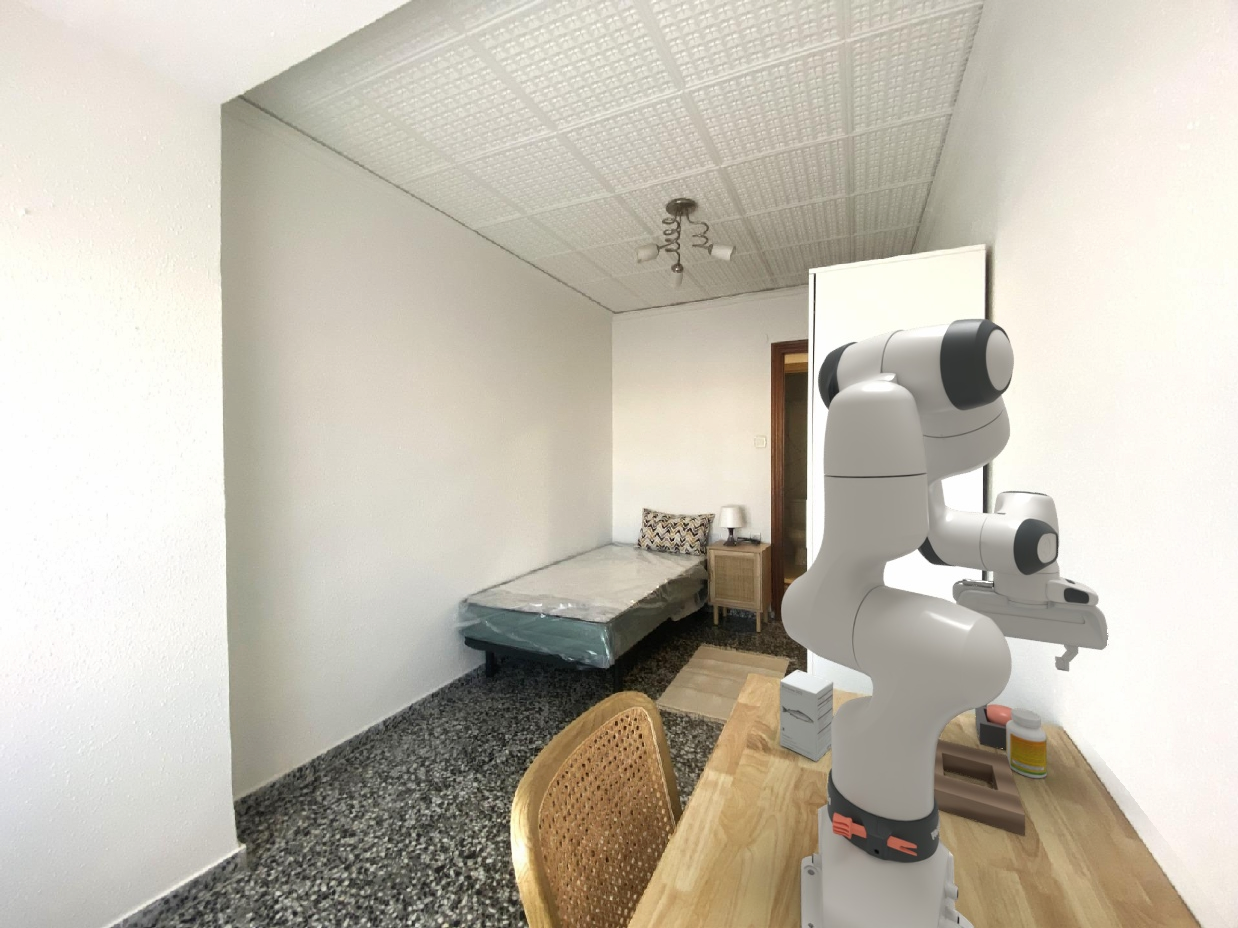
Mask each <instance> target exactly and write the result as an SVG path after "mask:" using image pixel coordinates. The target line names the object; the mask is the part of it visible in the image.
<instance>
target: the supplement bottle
mask: <svg viewBox="0 0 1238 928" xmlns="http://www.w3.org/2000/svg"><path fill="white" fill-rule="evenodd" d="M1011 719H1012V720H1010V721H1008V722H1007V724H1006V750H1005V753H1006V754H1005V755H1006V756H1007V758H1008V761H1009V764H1010V767H1011V770H1012V771H1014V772H1016V773H1017V774H1020V775H1022V776H1025V777H1028V778H1032V779H1043V778H1046V776H1047V774H1048V770H1047V769H1048V768H1047V767H1048V766H1047V765H1048V762H1047V760H1048V759H1047V756H1048V755H1047V734H1046V732H1045V730H1044V729H1043V728H1042V718H1041V716H1040V715H1039V714H1038V713H1037V712H1034V711H1032V710H1029V709H1027V708H1019V707H1014V708H1012V710H1011Z"/></svg>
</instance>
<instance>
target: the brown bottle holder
mask: <svg viewBox="0 0 1238 928" xmlns="http://www.w3.org/2000/svg"><path fill="white" fill-rule="evenodd" d="M944 772H948V773H953V774H956V775H960V776H963V777H968V778H972V779H975V780H979V781H982V782H986V783H990V784H992V787H993V788H991V787H987V786H984V785H980V784H976V783H972V782H969V781H966V780H965V781H964V780H961V779H958V778H955V777H951V776H947V775H944ZM934 796H935V798H936V800H937V803H938V811H942V812H947V813H950V814H952V815H956V816H960V817H962V818H966V819H968V820H969V819H970V820H972V821H975V822H979V823H982V824H985V825H988V826H992V827H995V828H998V829H1002V830H1005V831H1007V832H1011V833H1013V834H1014V833H1015V834H1017V835H1020V836H1024V837H1026V814H1025V810H1024V808H1023V804H1022V800H1021V797H1020V793H1019V791H1018V788H1017V785H1016V780H1015V778H1014V775H1013V770H1012V769H1011V767H1010V764H1009V761H1008V758H1007V756H1006V754H1001V753H996V752H992V751H990V750H986V749H985V750H984V749H981V748H976V747H972V746H969V745H965V744H960V743H956V742H953V741H949V740H944V739H940V738H939V740H938V743H937V748H936V758H935V772H934Z"/></svg>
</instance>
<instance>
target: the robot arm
mask: <svg viewBox="0 0 1238 928" xmlns="http://www.w3.org/2000/svg"><path fill="white" fill-rule="evenodd" d="M1014 356H1015V355H1014V350H1013V347H1012V344H1011V341H1010V338H1009V335H1008V334H1007V332H1006V331H1005V329H1004V328H1003V327H1001V326H1000V325H999V324H997V323H995V322H993V321H992V320H990V319H988V318H987V319H986V318H963V319H956V320H954V321H952V322H951V323H944V324H935V325H926V326H920V327H915V328H908V329H898V330H894V331H890V332H886V333H885V332H884V333H882V334H878V335H875V336H873V337H870V338H869V337H868V338H866V339H863V340H860V341H851V342H848V343H845V344H844V345H841V346H839V347H837V348H835V349H833V350H832V351H830V352H829V353H828V354H827V355H826V356H825V357H824V360H823V362H822V364H821V366H820V368H819V371H818V377H817V385H818V392H819V395H820V398H821V400H822V402H823V404H824V406H825V407H826V408H827V410H828V412H827V418H826V424H825V432H824V442H823V443H824V444H823V490H824V491H823V493H824V495H823V496H824V512H823V513H824V517H823V518H824V521H823V522H824V523H823V534H822V541H821V545H820V547H819V550H818V553H817V555H816V558H815V559H814V561H813V563H812V564H811V566H809V568H808V570H806V572H804V573H803V574H802V575H800V576H799V577H797V578H796V579H794V580H793V581H792V582H791V583H790V584H789V586H788V588H786V591H785V593H784V594H783V597H782V601H781V605H780V607H781V610H780V613H781V615H780V616H781V621H782V624H783V627H784V630H785V632H786V634H787V635H788V637H790V639H792V640H793V641H795V642H796V643H797V644H799V645H801V646H802V647H803V648H805V649H807V650H808V651H810V652H812V653H813V654H815V655H816V656H817V657H819V658H823V659H824V660H827V661H830V662H833V663H835V664H837V665H841V666H843V667H845V668H848V669H851V670H853V671H856V672H857V673H861V674H864V675H865V676H867V677H869V678H870V680H871V683H872V695H868V696H867V695H866V696H860V697H859V696H858V697H855V698H851V699H848V700H847V701H845V702H844V703H841V705H840V706H838V708H837V709H836V711H835V713H833V719H832V722H831V748H830V750H831V768H830V769H829V771H828V776H827V777H828V779H827V783H826V798H827V803H826V804H824V805H822V806H821V807H820V808H818V809H817V813H818V815H817V823H818V827H817V829H818V853H815V852H813V853H812V855H809V856H805V857H803V858H802V859H801V862H800V928H975V926H974V925H973V924H972V922H971V921H970V920H968V919H967V918H966V917H965V916H964V915H963V914H962V913H961V912H960V911H958V910H957V909H956V903H955V901H956V902H958V901H959V900H958V899H959V886H957V885H956V884H955V867H954V864H955V863H954V855H953V854H952V852H951V851H950V850H949V849H948V847H947V846H946V845H945V844H944V843H943V841H942V840H941V838H940V829H941V817H940V810H939V809H938V803H937V800H936V798H935V796H934V772H935V758H936V748H937V743H938V740H939V739H940V736H941V734H942V733H943V731H944V729H945V728H946V727H947V726H948V725H949V723H950V722H951V721H952V720H953V719H955V718H957V717H958V716H960V715H962V714H964V713H966V712H968V711H971V710H975V709H976V708H980V707H982V706H988V705H990V703H992V702H994V701H995V700H996V699H997V698H998V697H999V696H1000V695H1001V694H1002V693H1003V692H1004V690H1005V689H1006V687H1007V685H1008V684H1009V681H1010V677H1011V673H1012V665H1013V664H1012V663H1013V661H1012V654H1011V650H1010V645H1009V644H1008V641H1007V639H1006V638H1013V639H1018V640H1021V639H1022V640H1027V641H1034V642H1040V643H1049V644H1054V645H1055V644H1057V645H1063V647H1064V648H1065V651H1064V653H1063V654H1062V655H1061V656H1056V655H1055V656H1054V659H1055V660H1054V661H1055V663H1054V664H1055V669H1056V670H1058V671H1062V672H1070V663H1071V662H1072V661H1073V660H1074V658H1076V656H1077V655H1078V654H1079V648H1083V649H1084V648H1085V649H1091V650H1097V651H1098V650H1099V651H1103V650H1104V649H1106V648H1107V647H1108V646H1107V640H1108V637H1109V632H1108V633H1107V629H1108V622H1107V619H1106V617H1105V614H1104V612H1103V611H1102V610H1101V609H1100V608H1099V607H1098V606H1097V605H1098V604H1099V595H1098V594H1097V592H1096V591H1095V590H1093V588H1091V587H1089V586H1087V585H1086V584H1084V583H1081V582H1078V581H1076V580H1071V579H1068V578H1066V577H1062V576H1060V575H1061V574H1060V567H1059V564H1058V560H1057V559H1058V557H1059V548H1060V530H1059V519H1058V513H1057V509H1056V504H1055V500H1054V498H1053V497H1052V496H1050V495H1047V494H1046V493H1041V492H1037V491H1036V492H1035V491H1034V492H1032V491H1026V490H1023V491H1022V490H1020V491H1019V490H1009V491H1008V490H1007V491H1001V492H999V493H997V495H996V499H995V504H994V510H993V513H987V512H978V511H977V512H974V511H973V512H972V511H964V510H963V511H962V510H958V509H953V508H951V507H949V506H947V505H946V502H945V496H944V490H943V482H942V481H944V480H946V479H949V478H952V477H955V476H960V475H963V474H968V473H971V472H973V471H976V470H978V469H981V468H983V467H984V466H987V465H988V464H989V463H991V462H992V461H993V460H995V459H996V458H997V457H998V456H999V455H1000V454H1001V453H1002V452H1003V450H1004V449H1005V448H1006V446H1007V445H1008V441H1009V440H1010V437H1011V424H1010V417H1009V413H1008V411H1007V407H1006V404H1005V401H1004V399H1003V396H1002V395H1003V394H1004V393H1005V392H1006V391H1007V390H1008V389H1009V386H1010V385H1011V381H1012V377H1013V371H1014V365H1015V357H1014ZM916 550H917V551H918V552H919V553H920V555H921V556H922V557H923V558H924V559H925V560H926V561H927V562H928V563H930V564H932V565H934V566H944V567H945V566H946V567H958V568H959V567H960V568H966V569H970V570H971V569H972V570H979V571H985V572H992V580H983V579H981V580H980V579H979V580H977V579H976V580H975V579H972V578H971V579H970V578H962V579H961V580H957V581H956V582H955V583H954V584H953V585H952V598H953V600H954V601H955V602H953V601H950V600H948V599H946V598H942V597H937V596H933V595H928V594H923V593H917V592H914V591H909V590H906V589H905V590H904V589H900V588H896V587H891V586H888V585H886V584H885V579H884V575H885V574H884V573H885V569H886V566H887V563H888V562H891V561H895V560H896V559H900V558H903V557H905V556H907V555H910V554H911V553H914V552H915V551H916ZM1107 634H1108V635H1107ZM1106 646H1107V647H1106Z"/></svg>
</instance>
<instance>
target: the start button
mask: <svg viewBox="0 0 1238 928" xmlns="http://www.w3.org/2000/svg"><path fill="white" fill-rule="evenodd" d="M986 707H987V722H990V723H995V724H999V725H1004V726H1006V724H1007V722H1008V721H1010V720H1012V719H1011V710H1012V709H1013V708H1011V707H1009V706H1005V705H1002V704H993V703H992V704H987V705H986Z"/></svg>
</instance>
